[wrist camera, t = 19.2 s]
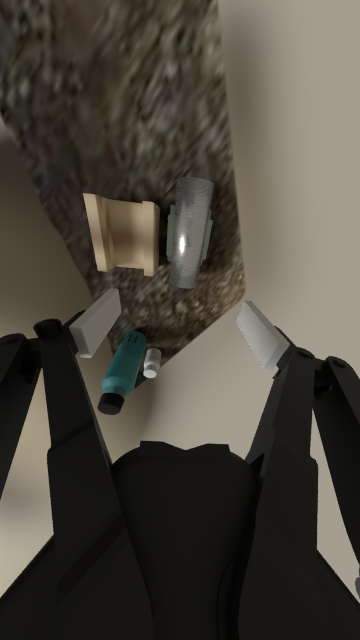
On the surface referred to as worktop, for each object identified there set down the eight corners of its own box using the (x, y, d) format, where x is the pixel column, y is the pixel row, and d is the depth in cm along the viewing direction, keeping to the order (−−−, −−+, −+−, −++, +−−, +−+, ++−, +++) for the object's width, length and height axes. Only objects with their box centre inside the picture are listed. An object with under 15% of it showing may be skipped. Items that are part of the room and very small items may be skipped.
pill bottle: (152, 359, 47) (148, 381, 41) (144, 350, 45) (138, 372, 39) (164, 354, 46) (161, 376, 40) (156, 345, 44) (152, 366, 38)
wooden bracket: (107, 200, 26) (83, 193, 19) (160, 207, 26) (153, 202, 20) (114, 261, 31) (98, 270, 25) (158, 266, 32) (153, 276, 25)
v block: (170, 205, 26) (168, 202, 23) (210, 210, 26) (215, 208, 23) (167, 259, 31) (165, 263, 28) (201, 263, 31) (203, 267, 28)
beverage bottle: (144, 325, 40) (117, 397, 23) (151, 343, 44) (133, 418, 27) (121, 329, 41) (79, 402, 24) (130, 346, 44) (100, 421, 27)
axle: (177, 184, 22) (177, 175, 18) (210, 189, 22) (217, 181, 18) (170, 277, 30) (169, 286, 25) (195, 280, 30) (198, 289, 26)
